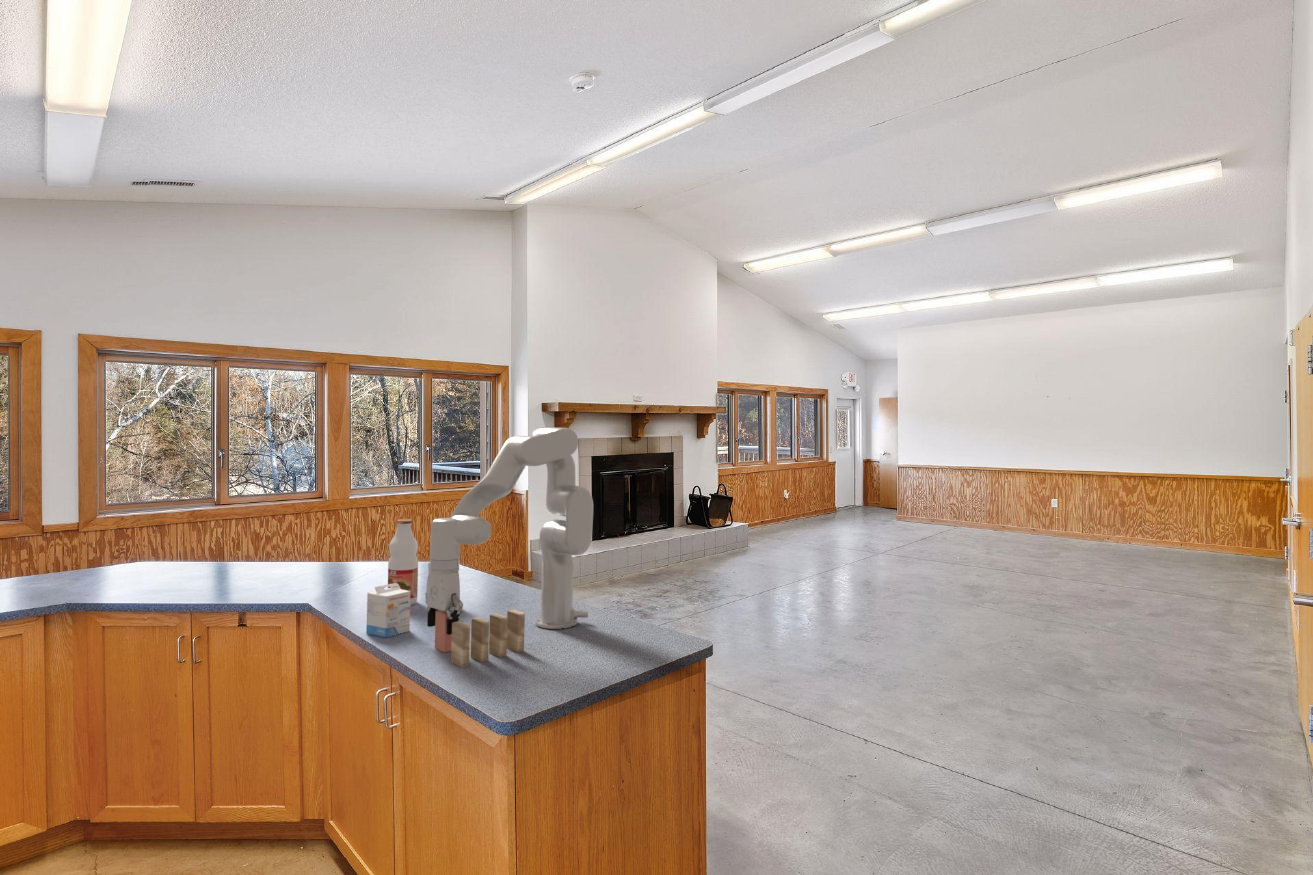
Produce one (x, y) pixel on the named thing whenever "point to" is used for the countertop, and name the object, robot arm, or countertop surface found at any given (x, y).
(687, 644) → the countertop surface
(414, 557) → the fruit juice
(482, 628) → the domino
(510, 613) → the domino
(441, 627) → the domino
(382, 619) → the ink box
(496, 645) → the domino
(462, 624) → the domino
